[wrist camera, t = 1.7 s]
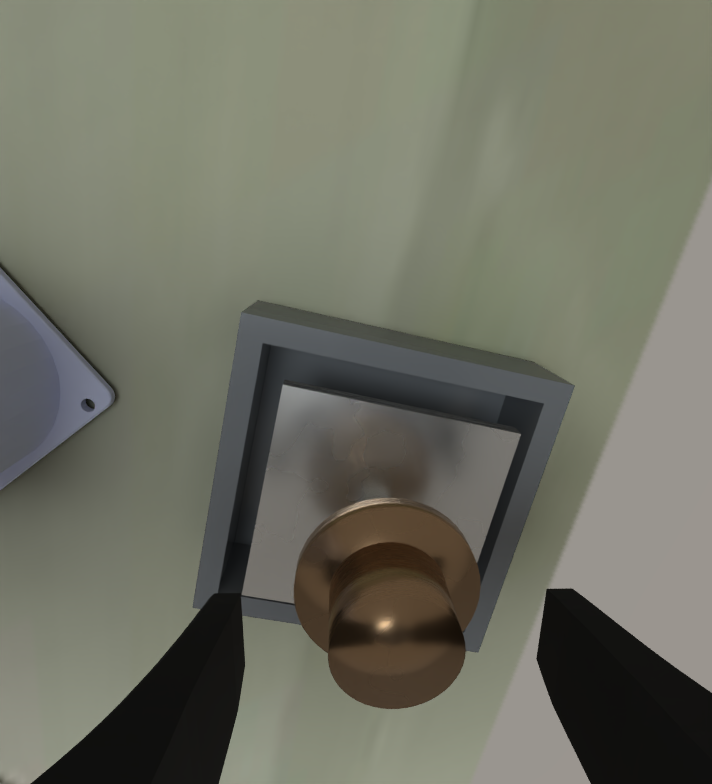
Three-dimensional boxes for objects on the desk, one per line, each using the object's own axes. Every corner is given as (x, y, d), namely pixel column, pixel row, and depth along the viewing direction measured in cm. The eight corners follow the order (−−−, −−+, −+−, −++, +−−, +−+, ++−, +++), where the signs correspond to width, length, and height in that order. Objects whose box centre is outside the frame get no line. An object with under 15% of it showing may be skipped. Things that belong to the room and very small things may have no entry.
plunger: (450, 617, 18) (508, 801, 12) (244, 583, 17) (197, 761, 11) (514, 427, 16) (621, 534, 10) (284, 379, 15) (252, 464, 9)
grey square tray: (456, 592, 23) (478, 652, 19) (214, 551, 21) (192, 607, 18) (533, 361, 20) (574, 385, 16) (258, 300, 19) (241, 312, 15)
